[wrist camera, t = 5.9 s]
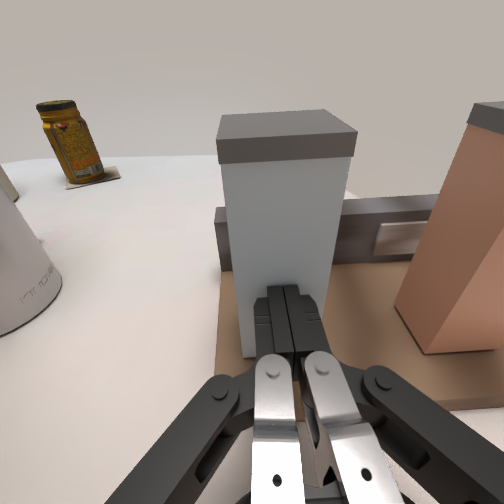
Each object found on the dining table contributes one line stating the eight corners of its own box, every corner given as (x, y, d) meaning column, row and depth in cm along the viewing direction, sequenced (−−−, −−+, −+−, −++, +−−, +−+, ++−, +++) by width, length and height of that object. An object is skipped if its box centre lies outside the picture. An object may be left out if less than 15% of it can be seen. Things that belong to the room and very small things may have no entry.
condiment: (67, 176, 49) (31, 102, 41) (116, 166, 52) (90, 95, 44) (66, 190, 43) (25, 108, 36) (121, 178, 46) (93, 100, 39)
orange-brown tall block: (424, 354, 16) (568, 123, 8) (392, 303, 19) (474, 103, 12) (499, 349, 16) (713, 115, 8) (455, 299, 19) (579, 97, 12)
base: (214, 426, 15) (195, 364, 11) (224, 266, 26) (216, 207, 22) (546, 404, 15) (643, 335, 11) (415, 254, 26) (441, 193, 22)
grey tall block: (242, 358, 16) (216, 139, 9) (241, 307, 20) (221, 115, 12) (316, 353, 16) (357, 131, 9) (303, 303, 20) (324, 109, 12)
